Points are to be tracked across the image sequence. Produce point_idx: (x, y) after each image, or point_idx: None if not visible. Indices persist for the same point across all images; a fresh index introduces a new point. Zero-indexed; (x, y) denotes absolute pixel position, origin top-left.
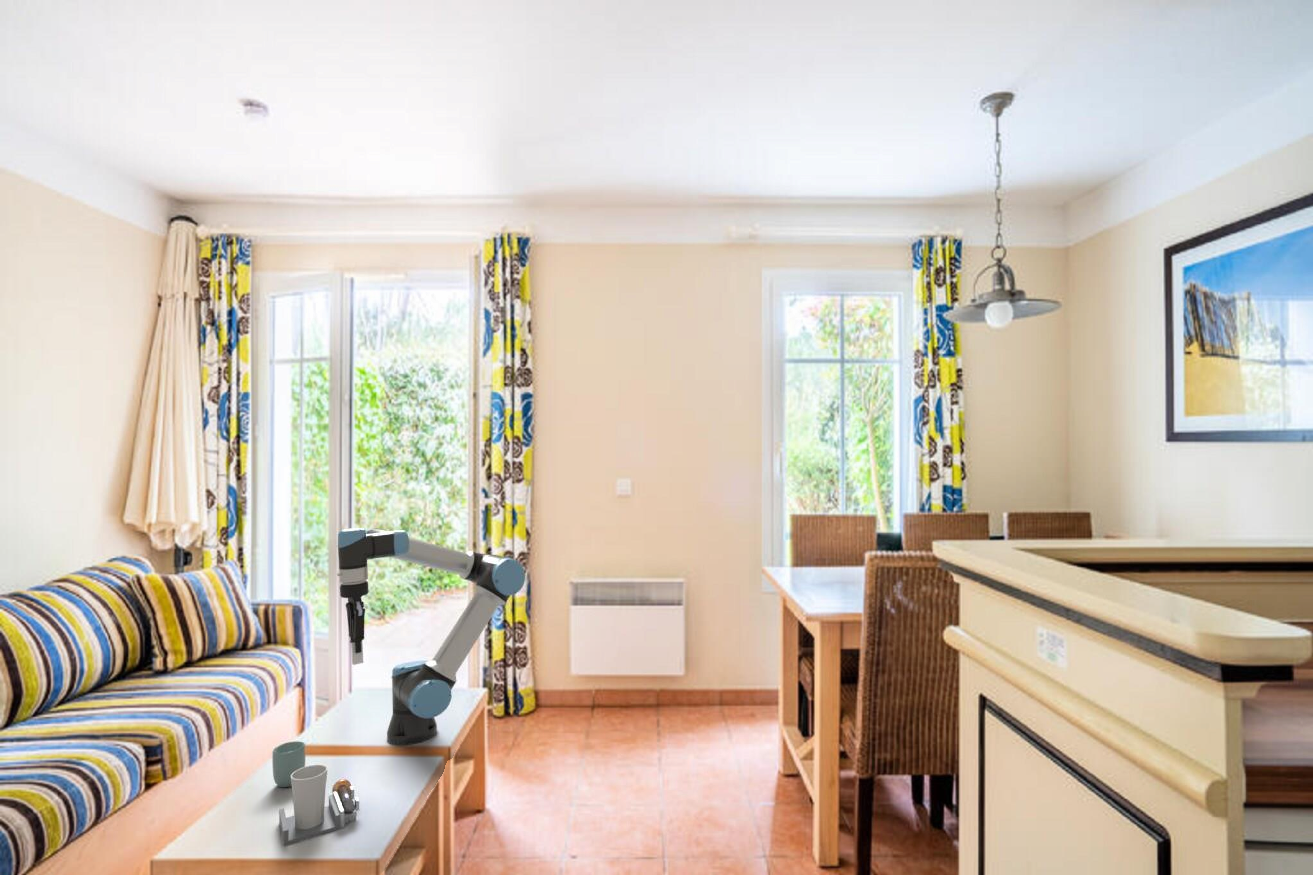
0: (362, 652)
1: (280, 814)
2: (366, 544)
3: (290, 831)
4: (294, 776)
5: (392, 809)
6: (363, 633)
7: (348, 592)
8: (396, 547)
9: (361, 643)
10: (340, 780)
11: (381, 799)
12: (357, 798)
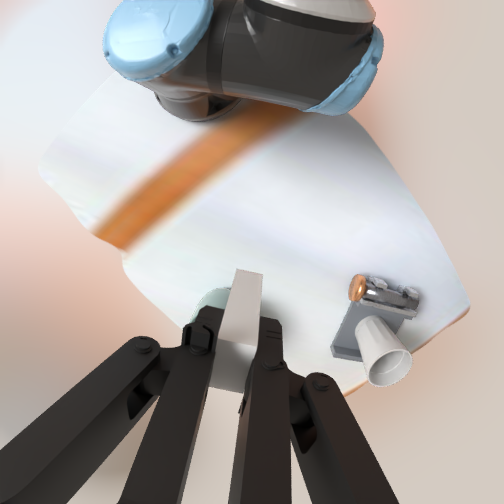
0: (259, 301)
1: (347, 359)
2: None
3: None
4: (370, 377)
5: (425, 246)
6: (350, 417)
7: None
8: None
9: (257, 338)
10: (359, 294)
11: (392, 241)
12: (413, 293)
